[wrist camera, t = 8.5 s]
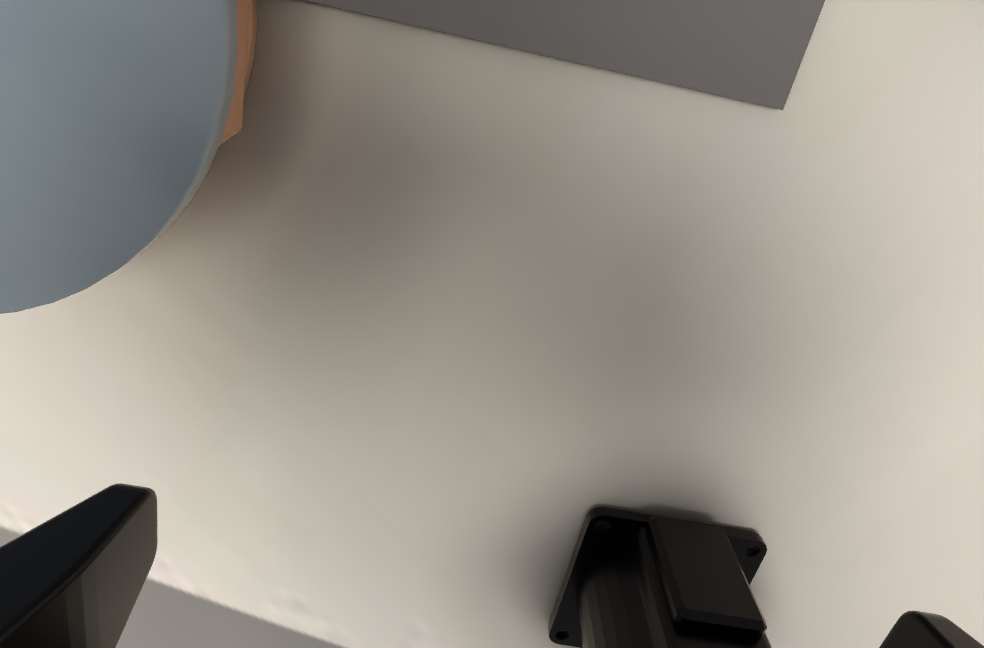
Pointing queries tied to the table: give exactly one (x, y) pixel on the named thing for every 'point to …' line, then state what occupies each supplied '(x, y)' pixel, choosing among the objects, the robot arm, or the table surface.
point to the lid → (103, 132)
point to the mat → (637, 36)
